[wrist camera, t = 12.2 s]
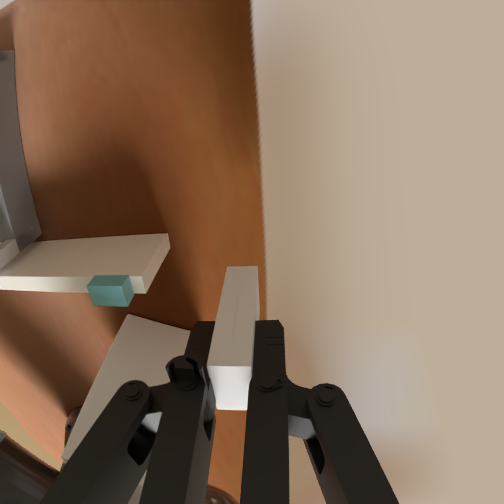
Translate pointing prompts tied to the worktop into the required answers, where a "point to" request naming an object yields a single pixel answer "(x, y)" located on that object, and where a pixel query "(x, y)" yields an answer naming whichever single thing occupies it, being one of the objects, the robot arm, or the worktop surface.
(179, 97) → the worktop surface
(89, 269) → the cover panel
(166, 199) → the worktop surface
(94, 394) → the milk carton
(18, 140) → the grey tray
